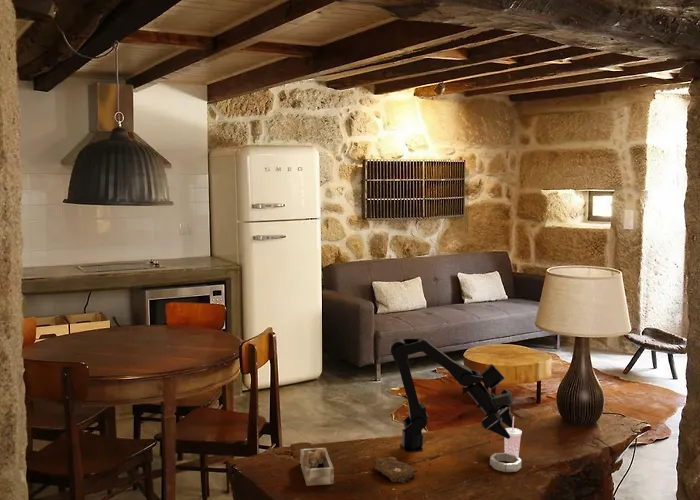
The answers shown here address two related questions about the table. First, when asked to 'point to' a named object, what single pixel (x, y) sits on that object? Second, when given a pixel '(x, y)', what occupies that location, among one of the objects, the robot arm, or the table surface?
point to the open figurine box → (317, 470)
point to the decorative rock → (395, 469)
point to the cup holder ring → (505, 466)
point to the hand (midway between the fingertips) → (512, 433)
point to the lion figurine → (313, 458)
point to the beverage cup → (513, 440)
